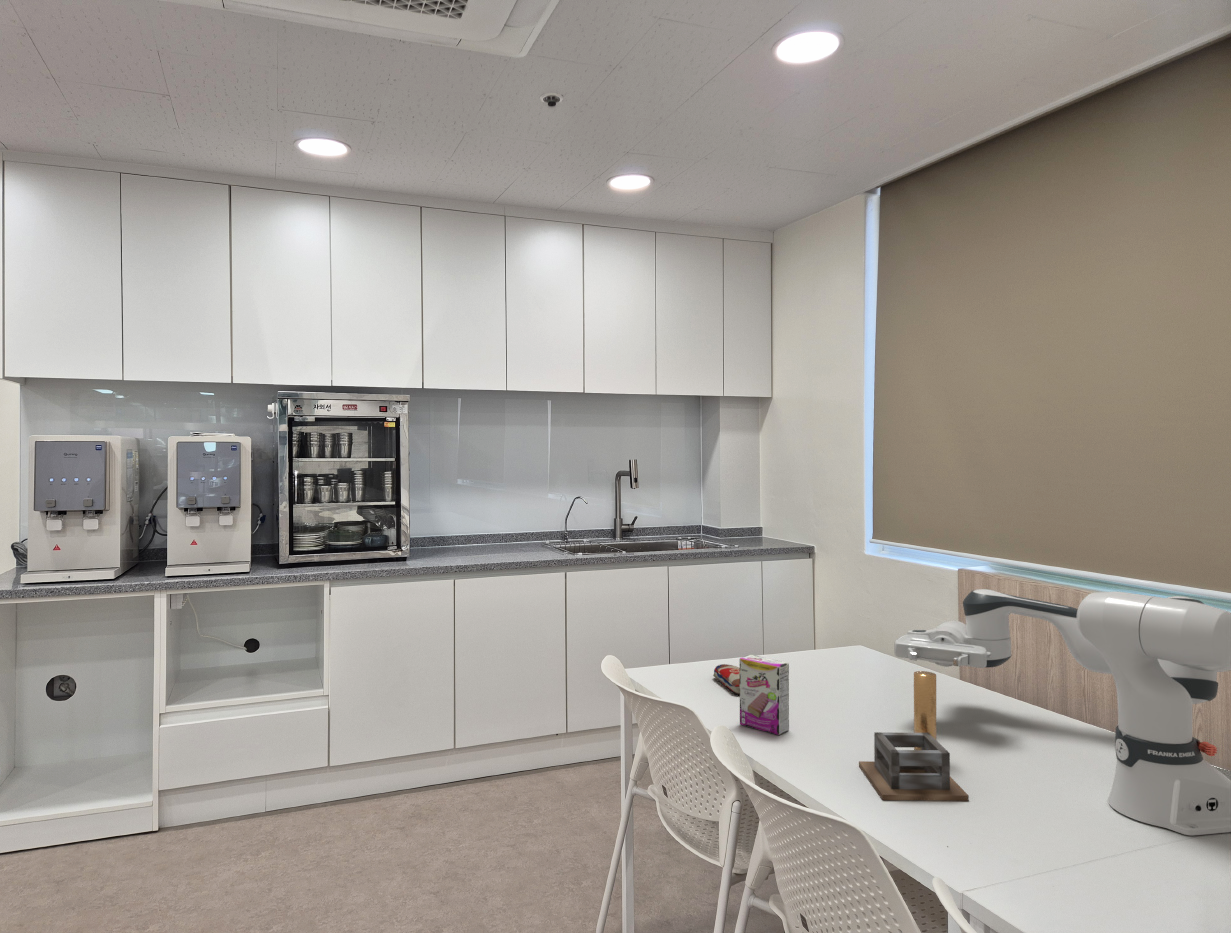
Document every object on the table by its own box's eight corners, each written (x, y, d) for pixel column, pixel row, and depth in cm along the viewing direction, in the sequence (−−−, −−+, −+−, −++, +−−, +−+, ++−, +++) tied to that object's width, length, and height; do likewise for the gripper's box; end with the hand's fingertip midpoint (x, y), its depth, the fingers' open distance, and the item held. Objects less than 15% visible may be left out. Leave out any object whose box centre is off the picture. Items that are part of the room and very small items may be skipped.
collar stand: (936, 766, 160) (936, 728, 160) (968, 800, 144) (968, 758, 144) (858, 766, 161) (858, 728, 161) (882, 800, 145) (882, 757, 145)
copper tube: (932, 753, 168) (931, 671, 167) (939, 761, 163) (939, 677, 163) (911, 753, 168) (910, 671, 168) (918, 761, 163) (918, 676, 163)
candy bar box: (738, 725, 186) (738, 657, 186) (750, 720, 190) (749, 653, 190) (779, 736, 179) (778, 666, 178) (790, 730, 182) (789, 661, 182)
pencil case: (719, 697, 208) (719, 679, 208) (712, 677, 228) (711, 660, 228) (760, 697, 208) (760, 679, 208) (749, 677, 228) (749, 660, 228)
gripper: (992, 666, 182) (984, 680, 170) (901, 654, 193) (888, 667, 181) (992, 639, 182) (984, 652, 170) (901, 629, 193) (888, 640, 181)
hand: (934, 659), depth 176 cm, fingers open, 8 cm apart
